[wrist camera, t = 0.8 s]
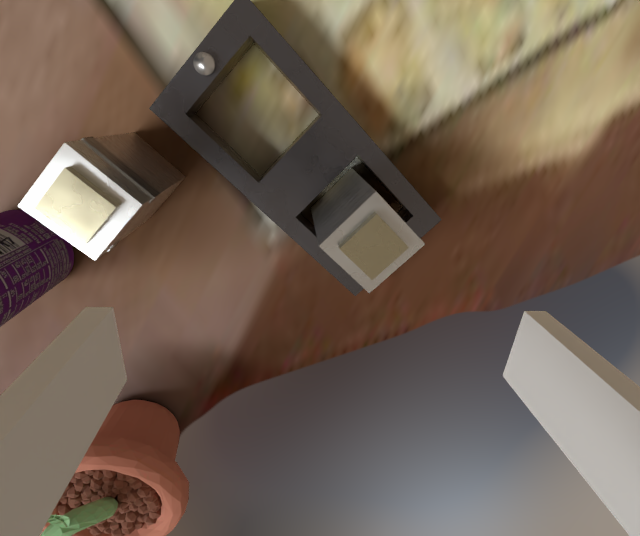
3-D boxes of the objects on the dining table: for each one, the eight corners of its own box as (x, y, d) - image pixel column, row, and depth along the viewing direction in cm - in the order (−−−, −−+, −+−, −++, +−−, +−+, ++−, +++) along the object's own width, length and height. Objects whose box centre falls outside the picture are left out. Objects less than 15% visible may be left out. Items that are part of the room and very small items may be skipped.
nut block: (97, 177, 31) (8, 209, 21) (134, 130, 29) (58, 141, 20) (149, 219, 32) (89, 266, 23) (186, 176, 31) (140, 206, 21)
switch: (162, 108, 29) (98, 107, 19) (246, 3, 27) (222, -59, 17) (350, 281, 36) (372, 344, 26) (429, 210, 34) (485, 251, 24)
